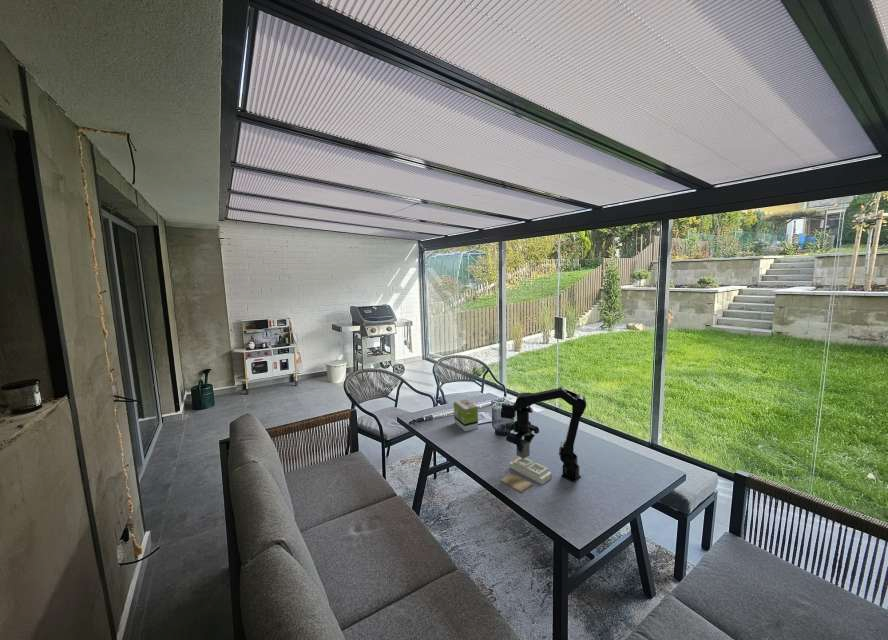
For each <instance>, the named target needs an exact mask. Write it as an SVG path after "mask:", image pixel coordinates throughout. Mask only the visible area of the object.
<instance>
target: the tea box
mask: <svg viewBox="0 0 888 640" xmlns="http://www.w3.org/2000/svg"><path fill="white" fill-rule="evenodd" d="M478 408H479V407H478V406H477V405H476V404H474V403H473V402H471V401H469V400H468V399H462V400H458V401H454V402H453V416H454V417H453V418H454V422H453V423H454V424H455V425H456V426H458V427H459V428H460V429H461V430H463V431H464V432H469V431H473V430H477V429H479V413H478V410H479V409H478Z"/></svg>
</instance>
